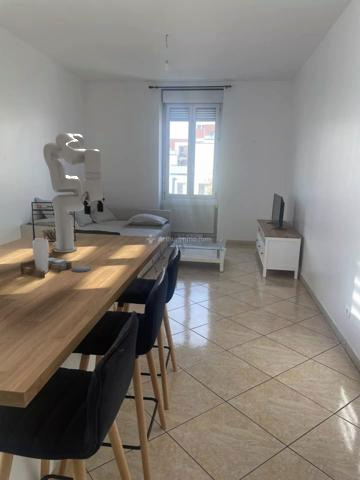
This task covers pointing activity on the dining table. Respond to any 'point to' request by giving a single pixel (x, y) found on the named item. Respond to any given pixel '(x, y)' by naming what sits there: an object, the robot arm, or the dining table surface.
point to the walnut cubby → (53, 265)
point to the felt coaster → (81, 268)
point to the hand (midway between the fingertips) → (94, 213)
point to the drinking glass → (41, 254)
